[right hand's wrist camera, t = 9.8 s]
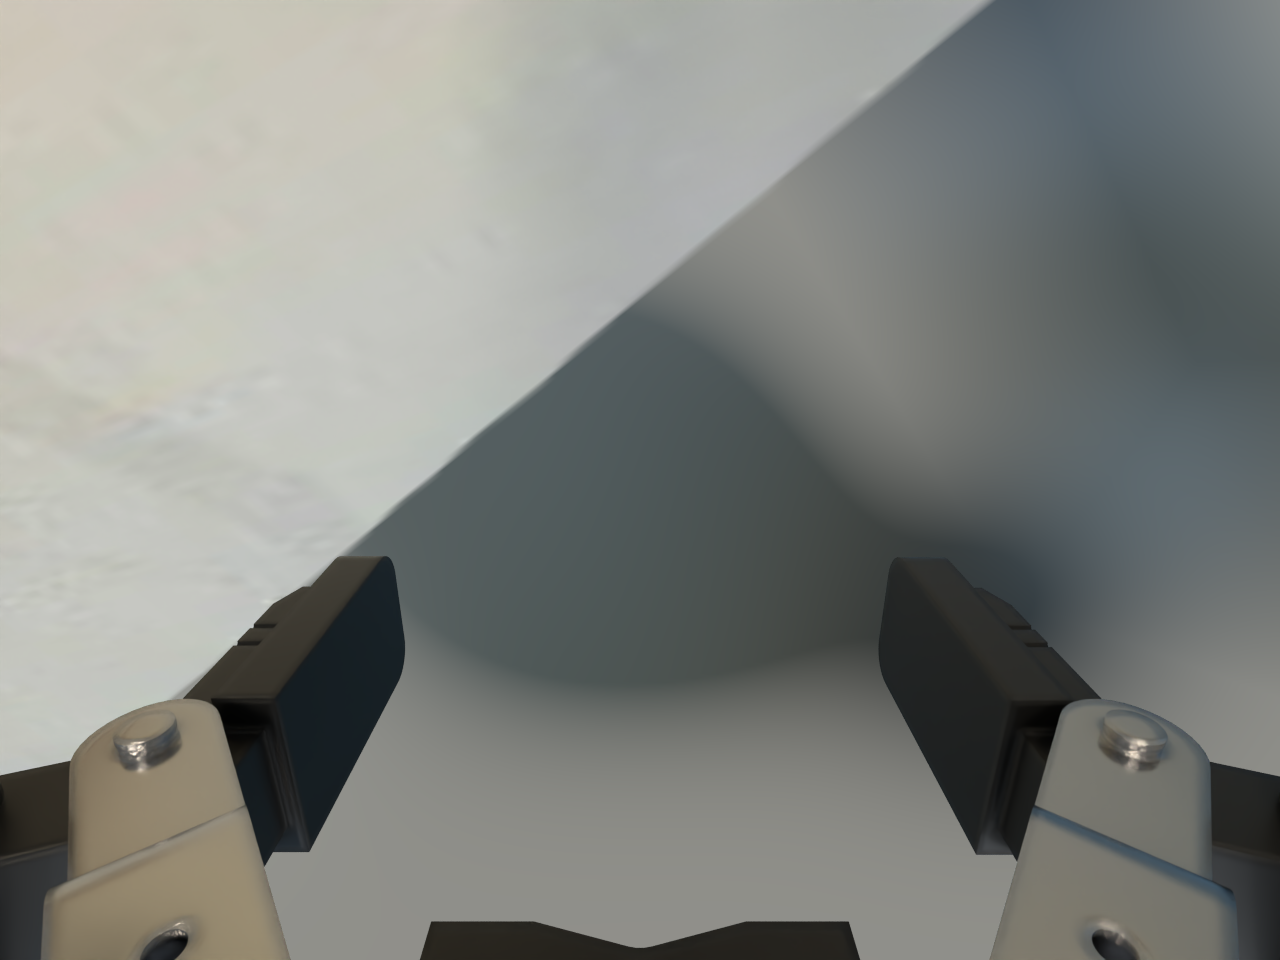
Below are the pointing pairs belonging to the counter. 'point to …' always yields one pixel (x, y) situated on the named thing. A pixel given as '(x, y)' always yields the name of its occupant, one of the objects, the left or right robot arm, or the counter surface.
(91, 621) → the counter surface
